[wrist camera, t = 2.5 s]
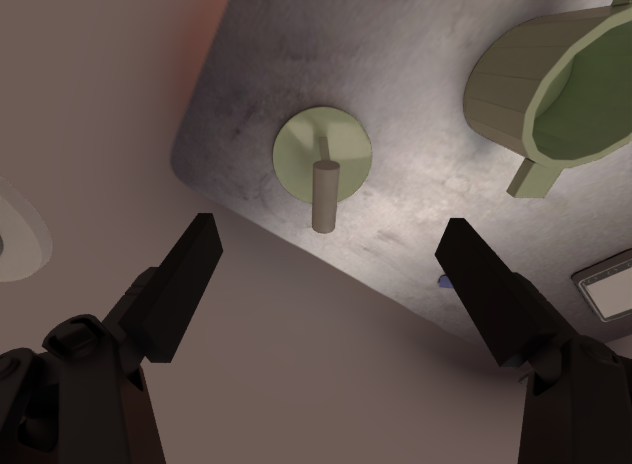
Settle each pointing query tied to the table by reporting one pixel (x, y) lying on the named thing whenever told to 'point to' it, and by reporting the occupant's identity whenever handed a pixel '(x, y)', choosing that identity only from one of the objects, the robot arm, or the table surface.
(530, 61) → the pot
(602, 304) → the smartphone
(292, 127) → the lid
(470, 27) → the table surface
